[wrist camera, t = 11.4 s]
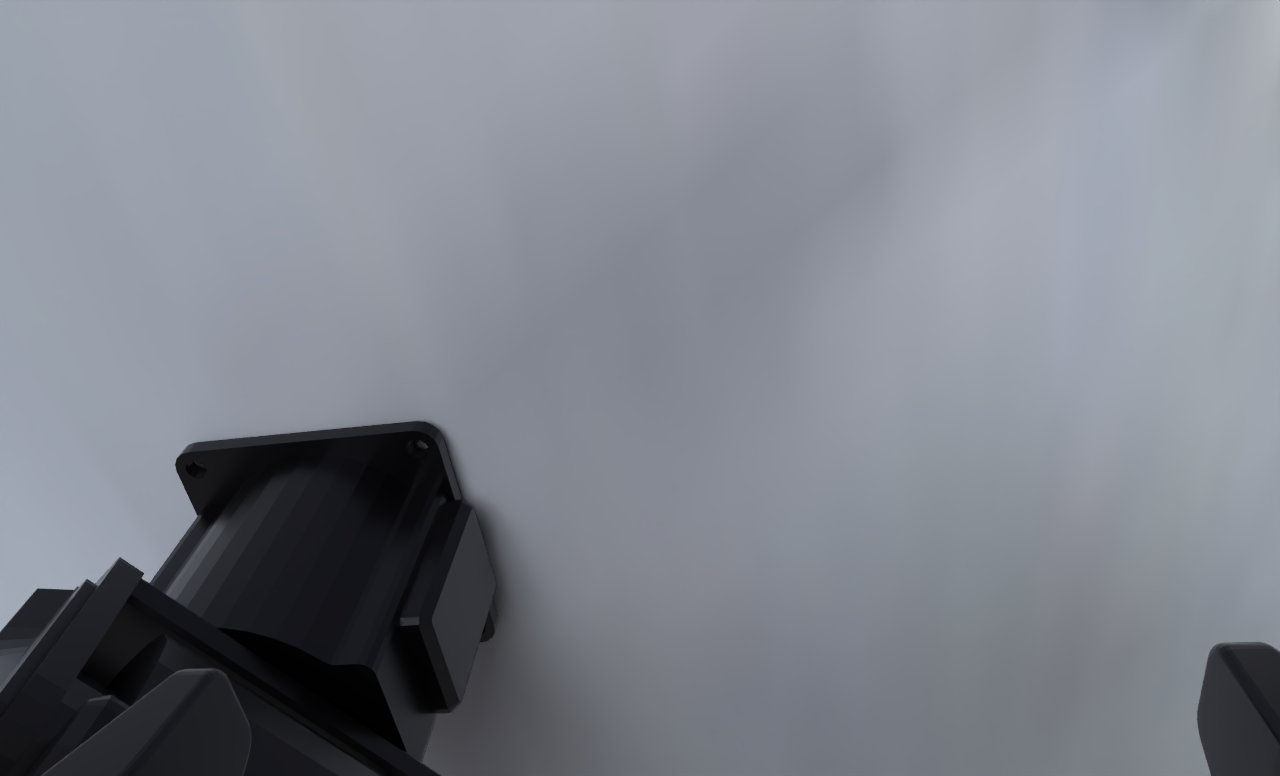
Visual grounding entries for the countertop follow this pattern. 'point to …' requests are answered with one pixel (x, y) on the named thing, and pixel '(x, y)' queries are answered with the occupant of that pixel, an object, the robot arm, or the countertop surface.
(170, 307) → the countertop surface
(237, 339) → the countertop surface
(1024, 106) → the countertop surface
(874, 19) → the countertop surface
